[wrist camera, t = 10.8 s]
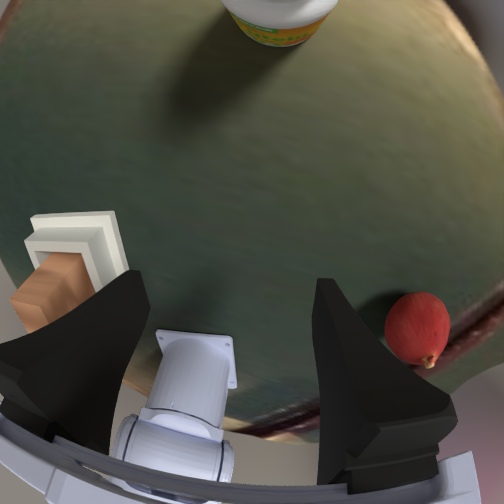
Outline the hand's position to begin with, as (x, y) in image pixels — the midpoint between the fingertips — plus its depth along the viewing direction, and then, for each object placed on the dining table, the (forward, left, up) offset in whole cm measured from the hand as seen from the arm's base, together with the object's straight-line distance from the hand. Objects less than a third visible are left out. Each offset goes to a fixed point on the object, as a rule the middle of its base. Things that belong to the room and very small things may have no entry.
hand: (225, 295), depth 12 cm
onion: (-9, -14, -11) cm, 20 cm away
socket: (-6, +16, -10) cm, 20 cm away
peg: (-6, +16, -10) cm, 20 cm away
